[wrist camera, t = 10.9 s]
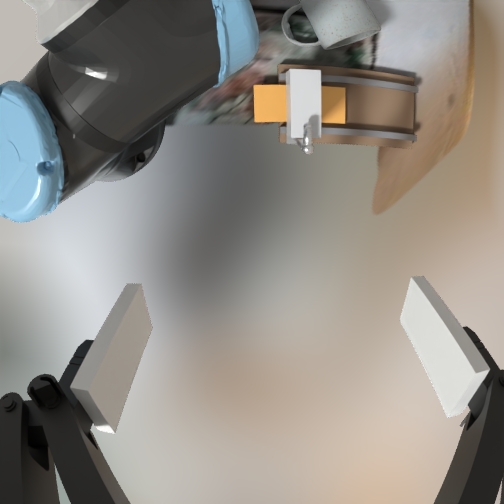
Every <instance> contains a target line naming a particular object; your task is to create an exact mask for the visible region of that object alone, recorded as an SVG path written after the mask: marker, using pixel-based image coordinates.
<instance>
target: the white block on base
mask: <svg viewBox="0 0 504 504" xmlns="http://www.w3.org/2000/svg"><path fill="white" fill-rule="evenodd" d="M254 112H255V122H287V134H288V135H289V136H290V137H291V138H303V125H304V124H305V123H306V122H309V123H311V124H312V126H313V138H321V123H342V124H345V88H343V87H329V86H321V70H308V69H289V70H288V71H287V72H286V85H254Z"/></svg>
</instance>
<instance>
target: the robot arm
mask: <svg viewBox="0 0 504 504" xmlns="http://www.w3.org/2000/svg"><path fill="white" fill-rule="evenodd" d="M22 1H24V2H25V3H26V4H27V5H29V6H30V7H31V8H33V9H34V10H35V12H36V15H37V24H36V40H37V42H38V43H40V44H41V45H42V46H44V47H45V48H46V49H48V50H49V51H48V52H47V53H46V54H45V55H44V56H43V57H42V58H41V59H40V60H39V61H38V63H37V64H36V65H35V66H34V67H33V68H32V69H31V71H30V72H29V73H28V74H27V75H26V76H25V78H24V79H23V80H21V81H20V82H17V81H8V82H6V83H3V84H1V85H0V216H2V217H4V218H9V219H10V220H12V221H14V222H29V221H31V220H34V219H36V218H38V217H40V216H42V215H47V214H48V213H51V212H52V211H53V210H54V209H55V208H56V207H57V206H58V205H59V204H60V203H62V202H63V201H65V200H66V199H68V198H69V197H71V196H72V195H74V194H75V193H77V192H78V191H80V190H82V189H83V188H85V187H87V186H88V185H90V184H91V183H93V182H95V181H105V182H109V181H117V180H121V179H125V178H127V177H129V176H131V175H133V174H135V173H136V172H138V171H139V170H141V169H142V168H143V167H144V166H146V165H147V164H148V163H149V162H150V161H151V160H152V158H153V157H154V156H155V154H156V153H157V151H158V149H159V147H160V145H161V142H162V139H163V135H164V130H165V119H166V118H167V117H169V116H170V115H171V114H173V113H174V112H176V111H177V110H178V109H180V108H181V107H183V106H184V105H186V104H187V103H189V102H190V101H192V100H193V99H195V98H196V97H198V96H199V95H201V94H202V93H204V92H205V91H207V90H209V89H210V88H212V87H217V86H219V85H221V83H222V82H224V80H225V78H227V77H228V76H230V75H231V74H233V73H234V72H236V71H238V70H239V69H241V68H242V67H244V66H245V65H247V64H248V63H250V62H251V61H252V60H253V58H254V56H255V54H256V53H257V51H258V49H259V42H260V40H259V39H260V38H259V30H258V25H257V21H256V17H255V14H254V11H253V9H252V6H251V3H250V1H249V0H22ZM400 322H401V324H402V326H403V328H404V330H405V332H406V334H407V335H408V337H409V339H410V341H411V343H412V345H413V347H414V349H415V351H416V353H417V355H418V357H419V358H420V361H421V363H422V365H423V367H424V369H425V371H426V373H427V375H428V377H429V379H430V381H431V383H432V385H433V387H434V389H435V391H436V393H437V396H438V398H439V400H440V402H441V405H442V407H443V409H444V411H445V413H446V416H447V417H448V418H449V417H452V416H455V415H459V414H461V413H462V412H463V411H464V409H465V408H466V406H467V405H468V406H469V408H470V410H471V411H470V412H469V413H468V415H467V416H466V417H465V419H464V420H463V421H462V423H461V425H460V426H461V427H462V426H463V424H464V423H465V425H464V429H463V432H462V434H461V438H460V441H459V443H458V446H457V449H456V452H455V455H454V458H453V460H452V463H451V465H450V468H449V470H448V473H447V475H446V477H445V480H444V482H443V484H442V487H441V489H440V491H439V493H438V495H437V498H436V500H435V502H434V504H494V503H495V500H496V497H497V494H498V491H499V488H500V484H501V481H502V491H501V501H500V504H504V370H500V369H499V367H498V366H497V364H496V363H495V361H494V360H493V358H492V357H491V355H490V354H489V352H488V351H487V349H486V348H485V346H484V345H483V343H482V342H480V341H481V340H480V339H479V338H478V336H477V335H476V334H475V332H473V331H472V330H471V329H470V328H468V327H462V326H461V325H460V323H459V322H458V320H457V319H456V318H455V316H454V315H453V314H452V312H451V311H450V310H449V308H448V307H447V305H446V304H445V303H444V301H443V300H442V299H441V297H440V296H439V295H438V294H437V292H436V291H435V290H434V288H433V287H432V286H431V285H430V283H429V282H428V281H427V280H426V278H425V277H424V276H418V277H411V280H410V284H409V288H408V292H407V296H406V299H405V303H404V307H403V310H402V314H401V317H400ZM152 328H153V327H152V324H151V320H150V316H149V313H148V309H147V305H146V301H145V297H144V293H143V289H142V285H141V284H127V285H126V286H125V288H124V290H123V292H122V293H121V295H120V296H119V298H118V300H117V302H116V303H115V305H114V306H113V308H112V310H111V312H110V313H109V315H108V317H107V319H106V320H105V322H104V324H103V326H102V327H101V329H100V331H99V333H98V335H97V336H96V338H95V340H85V341H84V342H83V343H82V344H81V345H80V346H79V347H78V348H77V350H76V352H75V353H74V355H73V358H72V359H71V360H70V362H69V365H68V366H67V368H66V369H65V371H64V373H63V375H62V377H61V379H60V381H59V382H57V380H56V379H55V377H54V376H52V375H49V374H43V375H39V376H37V377H36V378H34V379H33V380H32V381H31V382H30V384H29V386H28V389H27V390H28V391H27V393H28V395H29V396H30V397H31V399H32V400H28V401H24V400H23V399H22V398H21V396H20V395H19V394H17V393H13V392H12V393H8V394H5V395H4V396H3V397H2V398H1V399H0V504H60V501H59V495H58V489H57V482H56V474H55V465H56V468H57V471H58V473H59V476H60V478H61V481H62V484H63V486H64V488H65V491H66V493H67V495H68V498H69V500H70V502H71V504H130V502H129V501H128V499H127V497H126V496H125V494H124V492H123V490H122V489H121V487H120V485H119V484H118V482H117V480H116V478H115V477H114V475H113V473H112V471H111V469H110V467H109V465H108V464H107V462H106V460H105V458H104V456H103V454H102V452H101V450H100V448H99V446H98V444H97V442H96V440H95V437H94V435H93V433H92V432H91V431H90V429H91V426H92V424H93V423H94V425H95V426H96V428H97V429H98V430H99V431H104V432H109V433H115V432H116V429H117V426H118V423H119V420H120V417H121V414H122V411H123V408H124V405H125V402H126V399H127V396H128V393H129V391H130V388H131V385H132V382H133V379H134V377H135V374H136V371H137V368H138V365H139V363H140V360H141V357H142V355H143V352H144V349H145V347H146V344H147V341H148V339H149V336H150V334H151V331H152ZM54 463H55V465H54Z"/></svg>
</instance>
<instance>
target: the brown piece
mask: <svg viewBox="0 0 504 504" xmlns="http://www.w3.org/2000/svg"><path fill="white" fill-rule="evenodd" d="M277 67H278V85H286V72H287V71H288V70H289V69H308V70H321V86H329V87H343V88H345V124H342V123H321V138H313V143H330V144H331V143H332V144H353V145H370V146H382V147H394V148H404V149H412V141H417V135H414V134H413V120H414V93H418V87H416V86H414V78H412V77H407V76H402V75H396V74H390V73H383V72H376V71H369V70H361V69H352V68H342V67H330V66H315V65H290V64H278V66H277ZM286 133H287V122H279V142H280V143H286Z"/></svg>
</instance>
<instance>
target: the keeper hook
mask: <svg viewBox="0 0 504 504" xmlns="http://www.w3.org/2000/svg"><path fill="white" fill-rule="evenodd" d="M286 144H298V145H299V146H300V147H301V148H302V151H303V152H304V153H305V154H311V153H312V152H313V151H314V146H313V126H312V124H311V123H309V122H306V123H305V124H304V125H303V138H291V137H290V136H289V135H288V134H287V133H286Z"/></svg>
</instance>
